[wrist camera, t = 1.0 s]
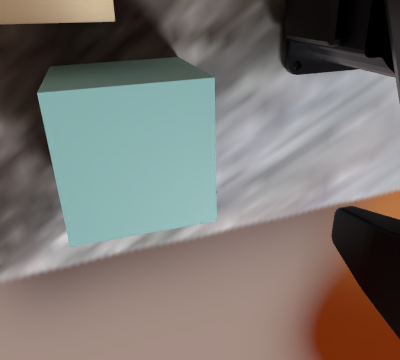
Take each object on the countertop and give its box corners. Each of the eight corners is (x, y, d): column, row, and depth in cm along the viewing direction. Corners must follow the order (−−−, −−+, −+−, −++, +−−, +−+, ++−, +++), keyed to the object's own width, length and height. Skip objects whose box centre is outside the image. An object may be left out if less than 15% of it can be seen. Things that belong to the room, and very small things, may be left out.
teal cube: (177, 56, 19) (214, 77, 14) (183, 167, 22) (216, 220, 16) (50, 65, 18) (36, 93, 12) (73, 183, 20) (70, 246, 15)
